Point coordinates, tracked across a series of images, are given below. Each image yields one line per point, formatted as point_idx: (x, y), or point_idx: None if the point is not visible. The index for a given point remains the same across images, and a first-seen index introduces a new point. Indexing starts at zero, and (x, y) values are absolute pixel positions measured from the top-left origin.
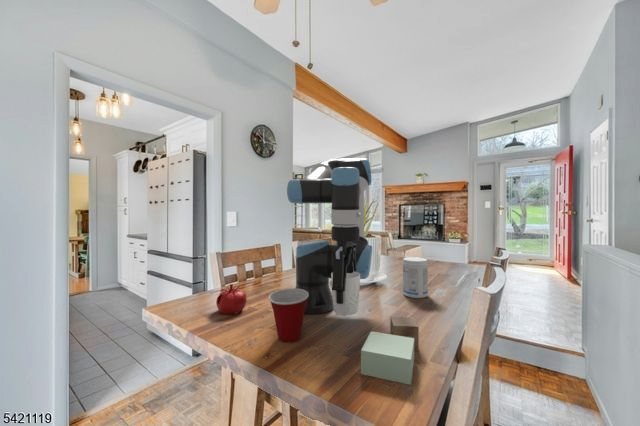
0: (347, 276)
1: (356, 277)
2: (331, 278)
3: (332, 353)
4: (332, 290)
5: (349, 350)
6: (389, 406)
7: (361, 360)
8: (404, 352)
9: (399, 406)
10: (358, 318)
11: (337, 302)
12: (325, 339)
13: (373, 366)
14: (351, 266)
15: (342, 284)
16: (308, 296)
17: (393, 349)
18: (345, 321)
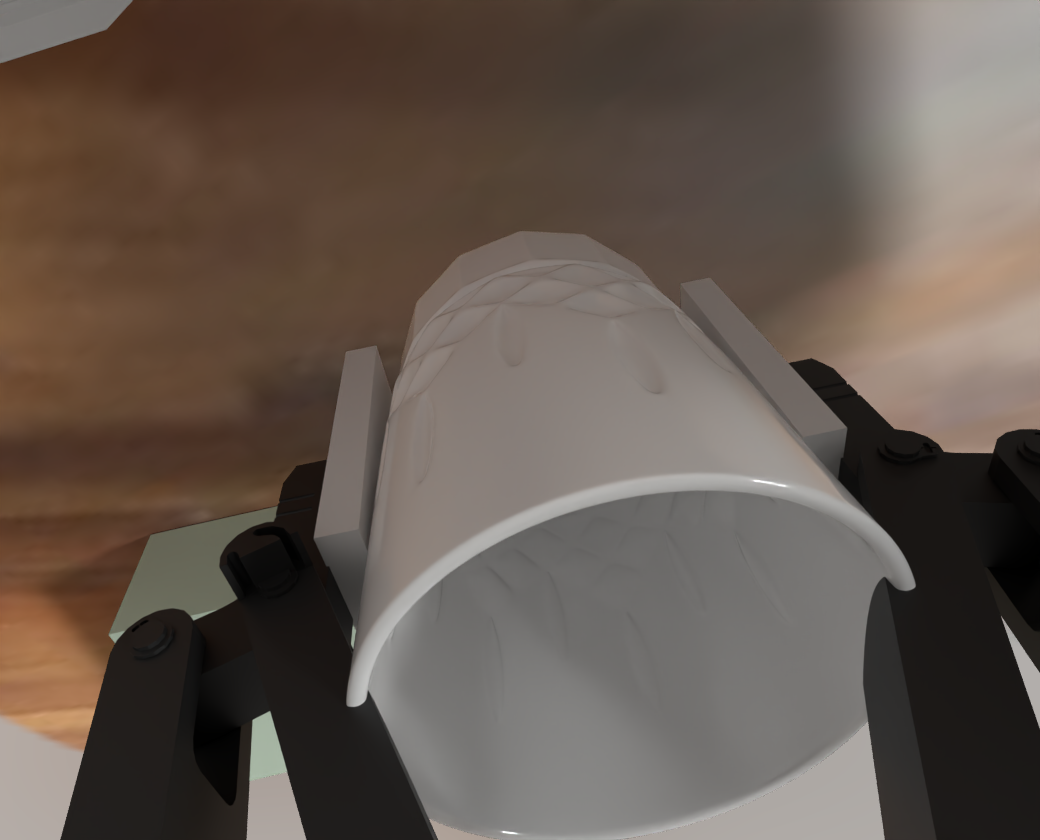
0: (834, 542)
1: (545, 836)
2: (433, 509)
3: (208, 313)
4: (416, 404)
5: (326, 380)
6: (51, 683)
7: (130, 588)
8: (270, 754)
9: (84, 701)
10: (886, 177)
11: (292, 486)
12: (354, 146)
13: None
14: (885, 805)
15: (222, 780)
16: (111, 20)
17: (261, 719)
18: (784, 104)
